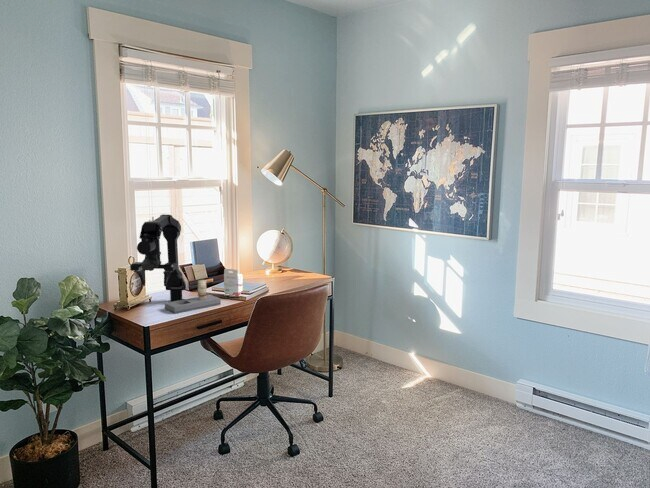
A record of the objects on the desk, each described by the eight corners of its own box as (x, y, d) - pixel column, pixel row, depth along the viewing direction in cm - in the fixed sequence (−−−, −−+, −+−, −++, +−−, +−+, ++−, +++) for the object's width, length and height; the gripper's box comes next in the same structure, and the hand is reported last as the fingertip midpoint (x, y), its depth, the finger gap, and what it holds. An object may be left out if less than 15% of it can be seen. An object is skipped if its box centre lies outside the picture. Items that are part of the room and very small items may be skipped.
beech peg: (199, 297, 256) (198, 279, 255) (207, 297, 256) (207, 279, 254) (197, 300, 252) (196, 281, 251) (205, 300, 252) (204, 281, 250)
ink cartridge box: (243, 296, 272) (243, 268, 270) (238, 298, 267) (237, 269, 265) (229, 294, 275) (228, 266, 273) (224, 296, 270) (223, 268, 268)
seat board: (164, 309, 247) (164, 303, 246) (210, 300, 263) (209, 294, 262) (174, 313, 239) (174, 307, 239) (220, 304, 255) (220, 298, 255)
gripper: (124, 253, 220) (126, 290, 223) (168, 254, 220) (169, 290, 222) (134, 249, 231) (136, 284, 234) (176, 249, 231) (177, 284, 233)
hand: (154, 285), depth 230 cm, fingers open, 9 cm apart
